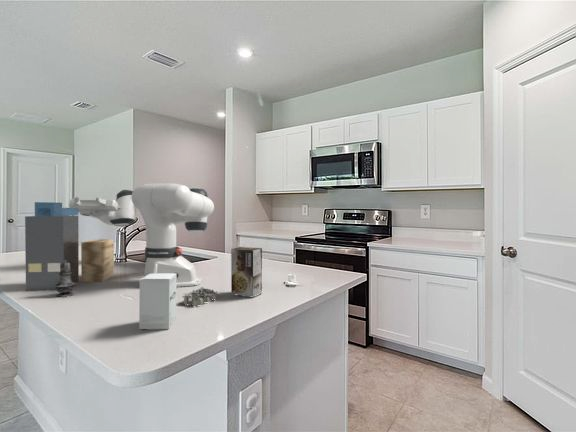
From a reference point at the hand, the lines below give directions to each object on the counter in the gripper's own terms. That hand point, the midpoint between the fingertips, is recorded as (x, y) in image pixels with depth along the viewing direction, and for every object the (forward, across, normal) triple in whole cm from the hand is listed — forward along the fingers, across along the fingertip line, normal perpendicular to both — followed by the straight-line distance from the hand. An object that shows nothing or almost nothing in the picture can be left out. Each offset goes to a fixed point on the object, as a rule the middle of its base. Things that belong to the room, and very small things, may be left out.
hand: (86, 199), depth 146 cm
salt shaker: (+25, -12, -44) cm, 52 cm away
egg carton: (+34, -58, -47) cm, 82 cm away
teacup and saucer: (+13, -87, -40) cm, 97 cm away
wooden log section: (+1, -11, -35) cm, 37 cm away
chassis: (+13, -1, -39) cm, 42 cm away
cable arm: (+17, -1, -13) cm, 22 cm away
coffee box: (+26, -73, -44) cm, 89 cm away
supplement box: (+53, -51, -54) cm, 91 cm away
